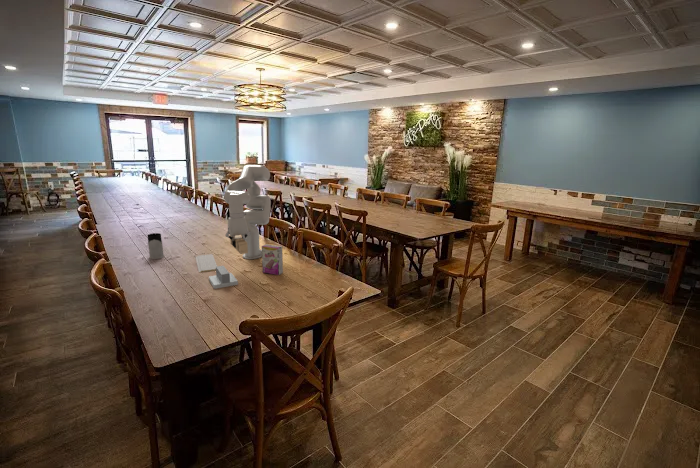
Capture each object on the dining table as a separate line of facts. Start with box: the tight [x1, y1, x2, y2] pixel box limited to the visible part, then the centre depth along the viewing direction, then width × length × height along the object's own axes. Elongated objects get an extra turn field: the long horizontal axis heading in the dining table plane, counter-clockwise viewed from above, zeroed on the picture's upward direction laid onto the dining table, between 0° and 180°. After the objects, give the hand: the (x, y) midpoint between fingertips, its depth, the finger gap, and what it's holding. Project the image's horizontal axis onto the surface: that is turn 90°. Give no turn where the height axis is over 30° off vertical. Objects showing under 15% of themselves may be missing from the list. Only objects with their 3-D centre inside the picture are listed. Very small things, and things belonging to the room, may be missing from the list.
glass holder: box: [147, 232, 165, 260], centre depth 224 cm, size 9×14×15 cm, turn 24°
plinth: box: [208, 265, 239, 289], centre depth 184 cm, size 12×14×7 cm
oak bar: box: [229, 234, 248, 255], centre depth 197 cm, size 22×4×6 cm, turn 32°
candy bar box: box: [261, 243, 284, 276], centre depth 198 cm, size 11×5×16 cm, turn 71°
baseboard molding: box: [193, 252, 218, 273], centre depth 213 cm, size 31×3×12 cm
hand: (238, 246), depth 198 cm, fingers closed on oak bar, 4 cm apart
